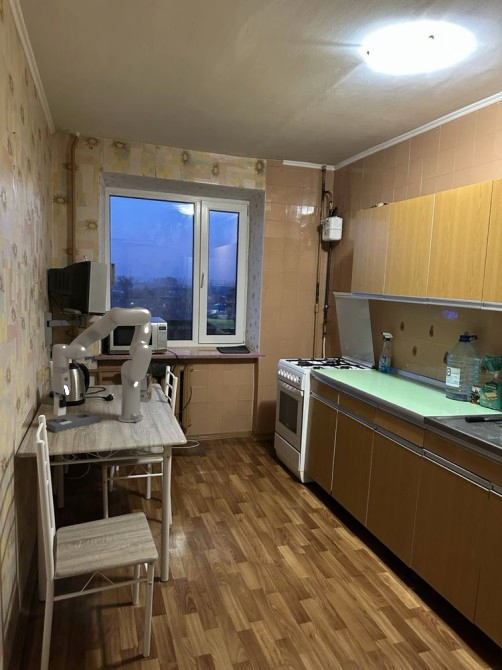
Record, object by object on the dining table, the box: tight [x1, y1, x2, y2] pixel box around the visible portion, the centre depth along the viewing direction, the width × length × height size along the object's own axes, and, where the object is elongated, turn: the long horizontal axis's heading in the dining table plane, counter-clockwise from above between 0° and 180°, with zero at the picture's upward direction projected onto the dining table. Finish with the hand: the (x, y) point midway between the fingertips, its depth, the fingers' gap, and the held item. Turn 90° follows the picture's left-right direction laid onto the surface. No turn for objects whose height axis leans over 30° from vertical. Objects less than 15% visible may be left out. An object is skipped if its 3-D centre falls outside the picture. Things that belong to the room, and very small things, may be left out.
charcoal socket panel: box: [46, 411, 101, 433], centre depth 223 cm, size 12×24×3 cm, turn 143°
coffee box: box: [140, 372, 153, 403], centre depth 274 cm, size 9×6×16 cm
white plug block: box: [53, 393, 67, 417], centre depth 217 cm, size 4×4×10 cm
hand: (60, 405), depth 217 cm, fingers closed on white plug block, 4 cm apart
